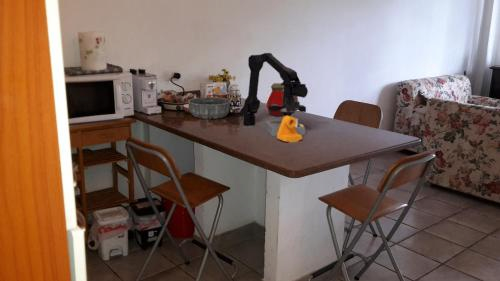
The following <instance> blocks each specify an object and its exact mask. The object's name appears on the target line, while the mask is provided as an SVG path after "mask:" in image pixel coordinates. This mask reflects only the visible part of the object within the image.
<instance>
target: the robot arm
mask: <svg viewBox="0 0 500 281" xmlns="http://www.w3.org/2000/svg"><path fill="white" fill-rule="evenodd" d="M247 59H248V60H247V61H248V62H247V63H248V67H249V70H250V74H249V84H248V93H247V97H246V98H245V100H244V104H243V106H242V107H241V109H240V110H239V112H240V114H241V115H242V122H241V123H242V125H244V126H255V125H256V116H255V114H257V113H258V111H259V109H260V107H261V106H260V104H261V100H260V99H259V98H258V90H259V82H260V81H259V79H260V72H261V70H262V69H263V67H264V63H267V64H268V65H269V66H271V68H272V69H274V70H275V71H276V72H277V73H278V74H279V78H281V80H282V82H281V84H280V85H283V86H284V88H283V97H282V98H283V102H282V106H278V105H277V104H270V105H269V110H270V111H278V110H280V112H282V114H283V116H284V117H285V116H291V115H292V116H293V114H295V113H296V111H299V112H300V113H306V112H307V107H306V106H305V105H303V104H300V101H295V97H299V98H306V97H307V96H308V93H309V92H308V87H307V86H306V84H305V83H301V80H300V78H299V76H298V72H297V71H296V70H294V69H293V68H291V67H287V66H286V65H285V64H283V63H282V62H281V61H280V60H279V59H278V58H276V57H275V56H274V55H273V53H271V52H263V53H262V54H251V55H249V57H248V58H247ZM269 110H268V111H269ZM283 116H282V117H283Z"/></svg>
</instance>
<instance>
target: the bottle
mask: <svg viewBox="0 0 500 281" xmlns="http://www.w3.org/2000/svg"><path fill="white" fill-rule="evenodd" d="M281 83H282V82H281ZM281 83H280V82H273V84H271V86H270V88H271V93H270V94H269V95H270V96H269V99H268V101H267V104H266V107H267V110H268V112H269V115H270V116H271V117H277V118H281V117H283V114H282V112H280V110H278V111H270V110H269V105H270V104H277V105H278V106H282V102H283V98H282V97H283V88H284V86H283V85H280V84H281Z"/></svg>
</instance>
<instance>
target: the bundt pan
mask: <svg viewBox="0 0 500 281" xmlns="http://www.w3.org/2000/svg"><path fill="white" fill-rule="evenodd" d="M231 102H232V100H230V99H229V98H225V97H224V98H223V97H216V96H215V97H213V96H212V97H210V96H209V97H195V98H191V99H188V101H187V103H188V107H189V108H188V109H189V113H190V114H191V115H192V116H193V117H195V118H198V119H204V120H206V119H209V120H212V119H222V118H224V117H226V116H228V114H229V112H230V108H231Z"/></svg>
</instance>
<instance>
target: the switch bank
mask: <svg viewBox="0 0 500 281" xmlns="http://www.w3.org/2000/svg"><path fill="white" fill-rule="evenodd" d="M281 122H282V120H264V122H263V123H264V124H263V128H264V130H265V131H267V133H268V134H270V136H272V137H273V136H274V137H275V136H276V137H277V133H278V131H279V128H280V125H281ZM296 131H297V134H300V135H302V136H306V127H305V126H304V125H303V124H301V123H300V122H299V121H298V122H297V127H296Z"/></svg>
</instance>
